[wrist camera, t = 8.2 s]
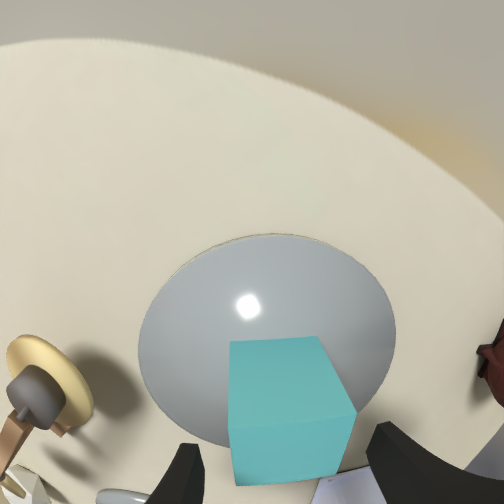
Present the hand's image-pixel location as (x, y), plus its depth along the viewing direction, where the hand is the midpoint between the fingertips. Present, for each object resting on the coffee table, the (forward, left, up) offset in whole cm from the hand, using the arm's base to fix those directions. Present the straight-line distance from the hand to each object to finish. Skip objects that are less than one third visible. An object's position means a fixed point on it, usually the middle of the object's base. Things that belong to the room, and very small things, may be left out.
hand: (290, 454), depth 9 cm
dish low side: (0, 0, -7) cm, 7 cm away
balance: (+18, +5, -7) cm, 20 cm away
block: (0, 0, -6) cm, 6 cm away
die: (+35, +27, -7) cm, 45 cm away
